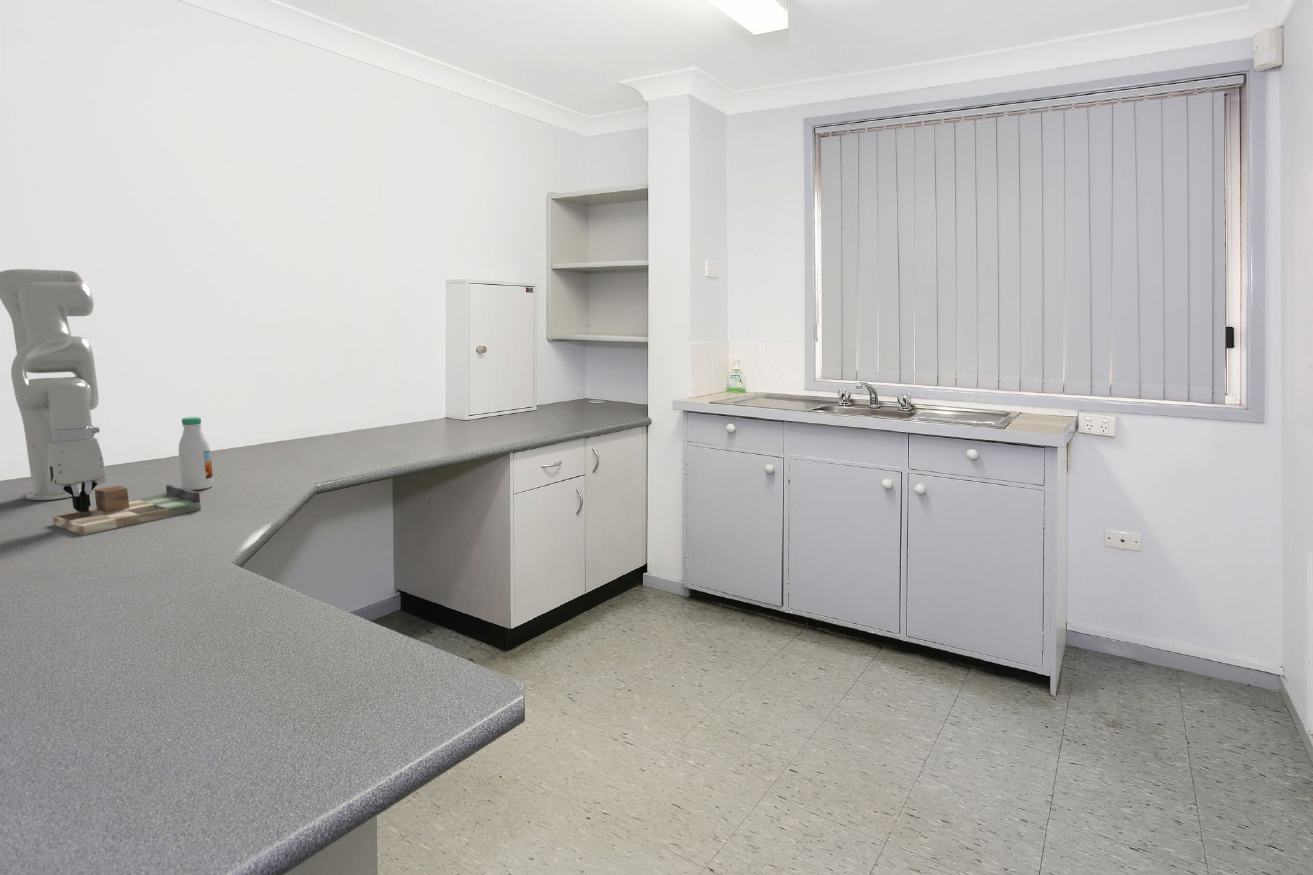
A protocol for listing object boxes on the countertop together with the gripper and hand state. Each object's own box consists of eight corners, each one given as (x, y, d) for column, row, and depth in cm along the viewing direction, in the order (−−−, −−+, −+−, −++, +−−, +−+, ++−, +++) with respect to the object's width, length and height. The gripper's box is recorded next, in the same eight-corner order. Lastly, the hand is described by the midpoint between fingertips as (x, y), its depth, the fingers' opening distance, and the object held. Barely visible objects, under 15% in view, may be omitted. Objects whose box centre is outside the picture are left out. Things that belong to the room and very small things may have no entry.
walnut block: (96, 509, 188) (94, 489, 187) (119, 504, 192) (117, 485, 191) (106, 512, 185) (103, 492, 184) (129, 507, 189) (127, 488, 188)
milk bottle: (199, 491, 214) (192, 420, 211) (175, 490, 216) (168, 419, 212) (220, 485, 222) (213, 416, 218) (196, 483, 223) (190, 415, 220)
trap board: (53, 524, 182) (51, 505, 181) (170, 501, 203) (169, 484, 203) (81, 535, 174) (79, 515, 173) (200, 509, 195) (199, 492, 195)
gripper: (102, 429, 188) (110, 502, 191) (27, 437, 176) (38, 515, 179) (116, 432, 184) (125, 506, 187) (41, 441, 172) (51, 520, 175)
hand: (82, 510), depth 183 cm, fingers closed
